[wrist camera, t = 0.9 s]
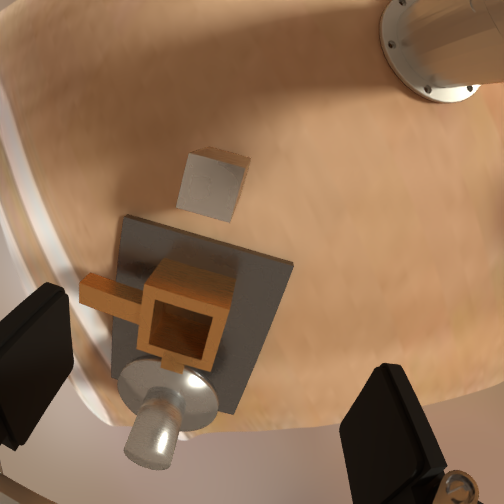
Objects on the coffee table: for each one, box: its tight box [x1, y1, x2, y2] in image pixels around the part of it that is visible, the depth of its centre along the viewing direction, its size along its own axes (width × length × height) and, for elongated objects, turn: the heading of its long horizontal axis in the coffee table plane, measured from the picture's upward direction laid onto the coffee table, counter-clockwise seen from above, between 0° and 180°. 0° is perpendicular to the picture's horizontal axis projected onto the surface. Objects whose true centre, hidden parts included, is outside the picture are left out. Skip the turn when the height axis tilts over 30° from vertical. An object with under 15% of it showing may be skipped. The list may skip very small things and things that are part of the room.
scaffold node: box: [79, 214, 294, 470], centre depth 30 cm, size 24×20×15 cm
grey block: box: [176, 146, 251, 223], centre depth 26 cm, size 4×4×9 cm
